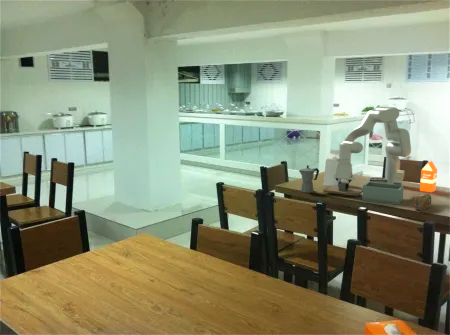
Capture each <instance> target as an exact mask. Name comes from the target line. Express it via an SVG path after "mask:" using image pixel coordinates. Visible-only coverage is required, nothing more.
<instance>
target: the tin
mask: <svg viewBox="0 0 450 335" xmlns="http://www.w3.org/2000/svg"><path fill="white" fill-rule="evenodd" d="M431 204H432V196H431V194H429V193H422V194H420V195H417V196H415V198H414V202H413V208H414V209H415V210H417V211H423V210H426V209H429V207H431Z"/></svg>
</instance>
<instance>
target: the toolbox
mask: <svg viewBox="0 0 450 335" xmlns="http://www.w3.org/2000/svg"><path fill="white" fill-rule="evenodd" d="M404 188H405V187H404V185H403V181H399V182H397V181H394V184H386V183H376V182H370V181H366V183H365V184H363V185H362V190H363V192H362V193H361V194H362V196H361V198H362V199H361V200H362V201H370V202H377V203H378V202H379V203H385V204H393V205H400V204H401V203H402V201H403V200H404Z"/></svg>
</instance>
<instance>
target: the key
mask: <svg viewBox="0 0 450 335" xmlns="http://www.w3.org/2000/svg"><path fill="white" fill-rule="evenodd" d="M404 180H405V170H401V169H400V170H398V171H397V172H396V178H395V181H399V182H403V181H404Z"/></svg>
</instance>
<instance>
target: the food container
mask: <svg viewBox="0 0 450 335" xmlns="http://www.w3.org/2000/svg"><path fill="white" fill-rule="evenodd" d="M368 182H376V183H386V184H387V182H388V180H387V179H386V178H385V177H381V176H380V177H376V176H375V177H373V176H372V177H370V178H369V180H368Z"/></svg>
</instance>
